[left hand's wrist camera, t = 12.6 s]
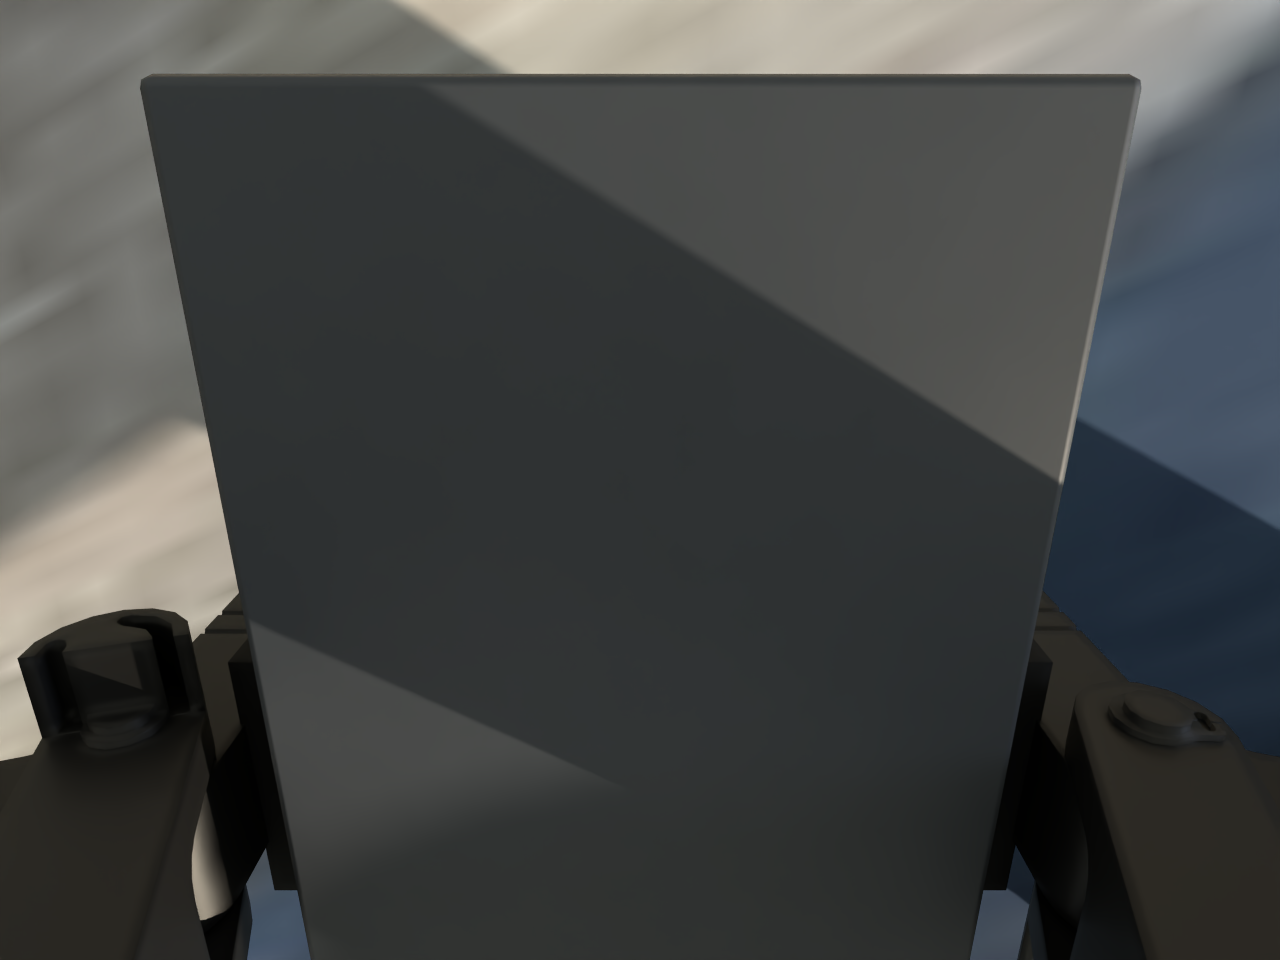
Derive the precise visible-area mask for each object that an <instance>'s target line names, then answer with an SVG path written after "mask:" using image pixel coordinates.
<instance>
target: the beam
mask: <svg viewBox="0 0 1280 960" xmlns="http://www.w3.org/2000/svg"><path fill="white" fill-rule="evenodd" d="M140 90H141V95H142V100H143V105H144V110H145V115H146V120H147V125H148V130H149V135H150V141H151V146H152V151H153V156H154V161H155V166H156V171H157V176H158V181H159V187H160V192H161V197H162V202H163V207H164V212H165V217H166V222H167V227H168V232H169V238H170V243H171V248H172V253H173V258H174V263H175V268H176V273H177V278H178V283H179V289H180V294H181V299H182V304H183V309H184V314H185V319H186V324H187V329H188V335H189V340H190V345H191V350H192V355H193V360H194V365H195V370H196V375H197V380H198V386H199V391H200V396H201V401H202V406H203V411H204V416H205V421H206V426H207V431H208V437H209V442H210V447H211V452H212V457H213V462H214V467H215V472H216V477H217V482H218V488H219V493H220V498H221V503H222V508H223V513H224V518H225V523H226V528H227V534H228V539H229V544H230V549H231V554H232V559H233V564H234V569H235V574H236V579H237V585H238V590H239V595H240V600H241V605H242V610H243V615H244V620H245V625H246V630H247V636H248V641H249V646H250V651H251V656H252V661H253V666H254V671H255V676H256V681H257V687H258V692H259V697H260V702H261V707H262V712H263V717H264V722H265V727H266V733H267V738H268V743H269V748H270V753H271V758H272V763H273V768H274V773H275V778H276V784H277V789H278V794H279V799H280V804H281V809H282V814H283V819H284V824H285V829H286V835H287V840H288V845H289V850H290V855H291V860H292V865H293V870H294V875H295V880H296V886H297V891H298V896H299V901H300V906H301V911H302V916H303V921H304V926H305V932H306V937H307V942H308V947H309V952H310V957H311V960H970V955H971V950H972V945H973V940H974V935H975V929H976V924H977V919H978V914H979V909H980V904H981V899H982V894H983V889H984V884H985V879H986V874H987V869H988V864H989V859H990V853H991V848H992V843H993V838H994V833H995V828H996V823H997V818H998V813H999V808H1000V803H1001V798H1002V793H1003V788H1004V782H1005V777H1006V772H1007V767H1008V762H1009V757H1010V752H1011V747H1012V742H1013V737H1014V732H1015V727H1016V722H1017V717H1018V712H1019V706H1020V701H1021V696H1022V691H1023V686H1024V681H1025V676H1026V671H1027V666H1028V661H1029V656H1030V651H1031V646H1032V641H1033V636H1034V630H1035V625H1036V620H1037V615H1038V610H1039V605H1040V600H1041V595H1042V590H1043V585H1044V580H1045V575H1046V570H1047V565H1048V559H1049V554H1050V549H1051V544H1052V539H1053V534H1054V529H1055V524H1056V519H1057V514H1058V509H1059V504H1060V499H1061V494H1062V489H1063V483H1064V478H1065V473H1066V468H1067V463H1068V458H1069V453H1070V448H1071V443H1072V438H1073V433H1074V428H1075V423H1076V418H1077V412H1078V407H1079V402H1080V397H1081V392H1082V387H1083V382H1084V377H1085V372H1086V367H1087V362H1088V357H1089V352H1090V347H1091V342H1092V336H1093V331H1094V326H1095V321H1096V316H1097V311H1098V306H1099V301H1100V296H1101V291H1102V286H1103V281H1104V276H1105V271H1106V265H1107V260H1108V255H1109V250H1110V245H1111V240H1112V235H1113V230H1114V225H1115V220H1116V215H1117V210H1118V205H1119V200H1120V195H1121V189H1122V184H1123V179H1124V174H1125V169H1126V164H1127V159H1128V154H1129V149H1130V144H1131V139H1132V134H1133V129H1134V124H1135V118H1136V113H1137V108H1138V103H1139V98H1140V93H1141V82H1140V80H1139V79H1137V78H1135V77H1133V76H1131V75H1129V74H151V75H149V76H147V77H145V78H144V79H142V80H141V86H140Z"/></svg>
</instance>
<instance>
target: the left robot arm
mask: <svg viewBox="0 0 1280 960" xmlns="http://www.w3.org/2000/svg"><path fill="white" fill-rule="evenodd" d="M17 659H18V662H19V665H20V668H21V671H22V675H23V678H24V681H25V684H26V687H27V691H28V694H29V697H30V700H31V703H32V707H33V710H34V713H35V716H36V720H37V723H38V726H39V729H40V732H41V736H42V739H41V741H40V743H39V745H38V746H37V748H36V750H35V752H34V754H33V755H29V756H24V757H19V758H14V759H9V760H4V761H0V960H247V955H248V948H249V942H250V935H251V928H252V913H251V906H250V900H249V896H248V891H247V887H246V883H247V881H248V879H249V877H250V876H251V874H252V872H253V870H254V868H255V866H256V865H257V863H258V861H259V859H260V857H261V855H262V854H263V852H264V850H265V848H266V851H267V856H268V860H269V865H270V870H271V875H272V880H273V885H274V889H275V890H297V886H296V880H295V875H294V870H293V865H292V860H291V855H290V850H289V845H288V840H287V835H286V829H285V824H284V819H283V814H282V809H281V804H280V799H279V794H278V789H277V784H276V778H275V773H274V768H273V763H272V758H271V753H270V748H269V743H268V738H267V733H266V727H265V722H264V717H263V712H262V707H261V702H260V697H259V692H258V687H257V681H256V676H255V671H254V666H253V661H252V656H251V651H250V646H249V641H248V636H247V630H246V625H245V620H244V615H243V610H242V605H241V600H240V595H239V594H238V595H237V596H236V597H235V598H234V599H233V600H232V601H231V602H230V603H229V604H228V605H227V606H226V607H225V608H224V609H223V611H222V615H218V616H217V617H216V618H215V619H214V620H213V621H212V622H211V623H210V624H209V625H208V627H207V628H206V629H205V634H200V635H199V636H198V637H197V638H196V639H195V640H194V641H193V642H192V639H191V634H190V630H189V625H188V621H187V620H185V619H184V618H182V617H181V616H180V615H178V614H177V613H175V612H171V611H165V610H159V609H153V608H152V609H132V610H122V611H117V612H112V613H107V614H102V615H98V616H93V617H90V618H87V619H84V620H81V621H79V622H76V623H73V624H70V625H67V626H65V627H62V628H60V629H58V630H56V631H54V632H53V633H51V634H49V635H47V636H45V637H44V638H42V639H40V640H38V641H36V642H35V643H33V644H32V645H31V646H30V647H29V648H28V649H27V650H26V651H25V652H24V653H23V654H22V655H21V656H20V657H18V658H17ZM1015 844H1016V846H1017V848H1018V850H1019V852H1020V854H1021V855H1022V857H1023V859H1024V861H1025V863H1026V864H1027V866H1028V868H1029V870H1030V872H1031V873H1032V875H1033V877H1034V879H1035V882H1034V887H1033V891H1032V896H1031V900H1030V905H1029V909H1028V914H1027V918H1026V923H1025V927H1024V932H1023V936H1022V941H1021V945H1020V950H1019V954H1018V959H1017V960H1280V757H1276V756H1271V755H1266V754H1261V753H1256V752H1252V751H1248V750H1245V748H1244V747H1243V745H1242V743H1241V741H1240V739H1239V738H1238V736H1237V735H1236V734H1235V733H1234V732H1233V731H1232V729H1231V728H1230V727H1229V726H1228V725H1227V724H1226V723H1225V722H1224V720H1223V719H1222V718H1220V717H1218V716H1217V715H1215V714H1214V713H1212V712H1211V711H1209V710H1208V709H1206V708H1205V707H1203V706H1202V705H1200V704H1199V703H1197V702H1195V701H1192V700H1190V699H1188V698H1185V697H1183V696H1180V695H1178V694H1176V693H1173V692H1171V691H1169V690H1165V689H1161V688H1157V687H1153V686H1149V685H1145V684H1141V683H1134V682H1129V681H1128V680H1127V679H1126V678H1125V677H1124V676H1123V675H1122V674H1121V673H1120V672H1119V671H1118V670H1117V668H1116V667H1115V666H1114V665H1113V664H1112V663H1111V662H1110V661H1109V660H1108V659H1107V658H1106V657H1105V656H1104V655H1103V654H1102V653H1101V652H1100V651H1099V649H1098V648H1097V647H1096V646H1095V645H1094V644H1093V643H1092V642H1091V641H1090V640H1089V639H1088V638H1087V637H1086V636H1085V635H1084V634H1083V633H1082V632H1081V631H1077V630H1076V625H1075V624H1074V623H1073V622H1072V621H1071V620H1070V619H1069V618H1068V617H1067V616H1066V615H1065V614H1064V613H1063V612H1059V607H1058V606H1057V605H1056V604H1055V603H1054V602H1053V601H1052V600H1051V599H1050V598H1049V597H1048V596H1047V595H1046V594H1045V592H1044V591H1043V590H1042V595H1041V600H1040V605H1039V610H1038V615H1037V620H1036V625H1035V630H1034V636H1033V641H1032V646H1031V651H1030V656H1029V661H1028V666H1027V671H1026V676H1025V681H1024V686H1023V691H1022V696H1021V701H1020V706H1019V712H1018V717H1017V722H1016V727H1015V732H1014V737H1013V742H1012V747H1011V752H1010V757H1009V762H1008V767H1007V772H1006V777H1005V782H1004V788H1003V793H1002V798H1001V803H1000V808H999V813H998V818H997V823H996V828H995V833H994V838H993V843H992V848H991V853H990V859H989V864H988V869H987V874H986V879H985V884H984V889H983V890H1006V888H1007V883H1008V878H1009V873H1010V868H1011V863H1012V859H1013V854H1014V849H1015Z"/></svg>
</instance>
